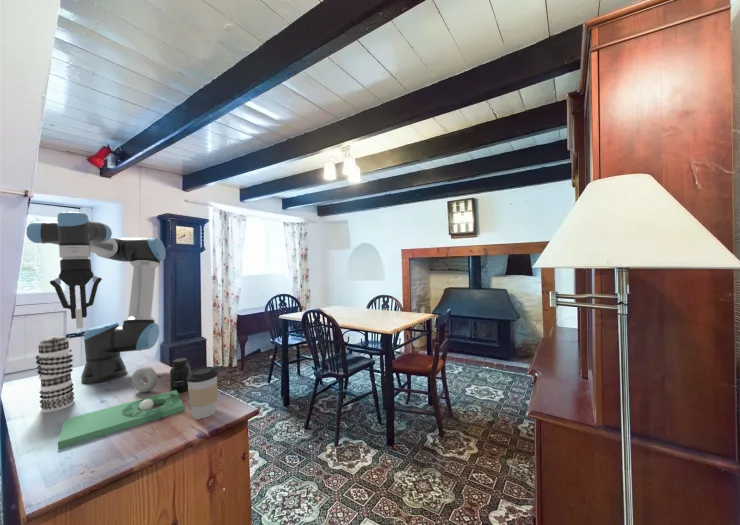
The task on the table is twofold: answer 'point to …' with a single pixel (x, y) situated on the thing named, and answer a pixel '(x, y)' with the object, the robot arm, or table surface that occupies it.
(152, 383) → the donut
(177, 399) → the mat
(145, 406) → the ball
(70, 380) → the decorative candle
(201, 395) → the coffee cup
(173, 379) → the supplement bottle
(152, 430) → the table surface
